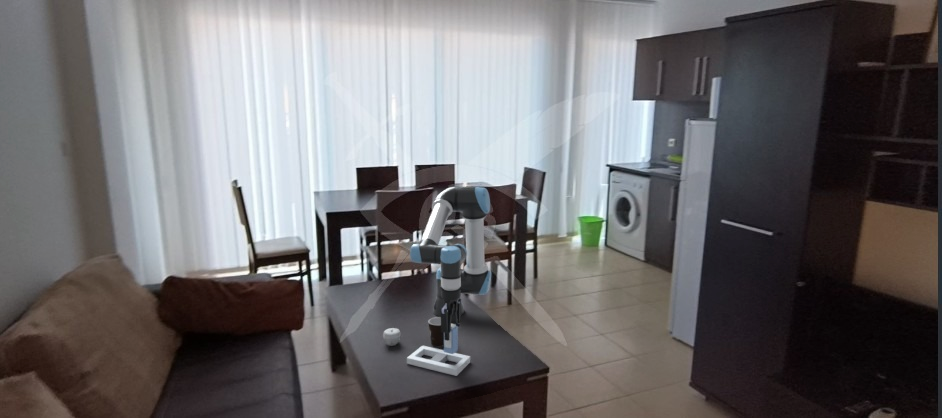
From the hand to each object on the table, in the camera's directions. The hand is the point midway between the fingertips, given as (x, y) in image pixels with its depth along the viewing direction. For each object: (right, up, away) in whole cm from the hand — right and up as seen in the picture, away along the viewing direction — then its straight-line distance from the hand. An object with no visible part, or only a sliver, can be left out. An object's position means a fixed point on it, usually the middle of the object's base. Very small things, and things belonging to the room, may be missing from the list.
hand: (450, 344), depth 202 cm
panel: (-5, -8, +4) cm, 11 cm away
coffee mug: (-6, -5, +23) cm, 24 cm away
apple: (-26, -5, +20) cm, 33 cm away
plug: (0, -3, 0) cm, 3 cm away
